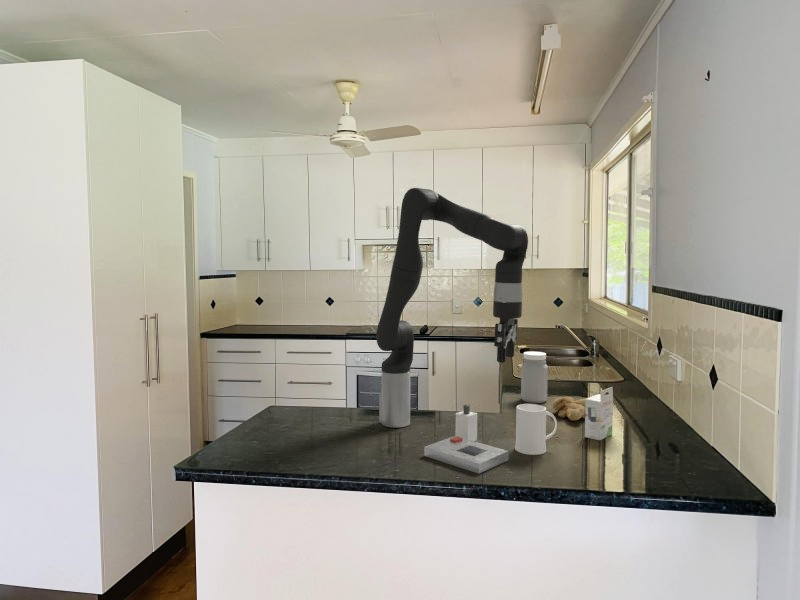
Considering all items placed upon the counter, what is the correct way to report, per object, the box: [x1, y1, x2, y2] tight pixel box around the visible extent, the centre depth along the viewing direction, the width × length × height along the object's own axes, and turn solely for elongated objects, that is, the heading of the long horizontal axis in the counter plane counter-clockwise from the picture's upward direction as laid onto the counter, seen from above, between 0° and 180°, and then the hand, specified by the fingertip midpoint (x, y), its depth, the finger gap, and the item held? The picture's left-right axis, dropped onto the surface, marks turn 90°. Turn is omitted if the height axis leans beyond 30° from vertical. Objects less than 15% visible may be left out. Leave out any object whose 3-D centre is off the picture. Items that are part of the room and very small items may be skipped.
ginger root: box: [552, 396, 588, 421], centre depth 187 cm, size 16×16×8 cm
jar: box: [520, 350, 549, 404], centre depth 208 cm, size 10×10×18 cm
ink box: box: [584, 386, 614, 441], centre depth 166 cm, size 9×5×15 cm, turn 134°
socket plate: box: [423, 435, 509, 474], centre depth 147 cm, size 18×13×3 cm
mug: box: [514, 403, 558, 456], centre depth 153 cm, size 12×8×12 cm
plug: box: [454, 403, 478, 442], centre depth 162 cm, size 4×4×10 cm
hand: (505, 359), depth 149 cm, fingers open, 8 cm apart
